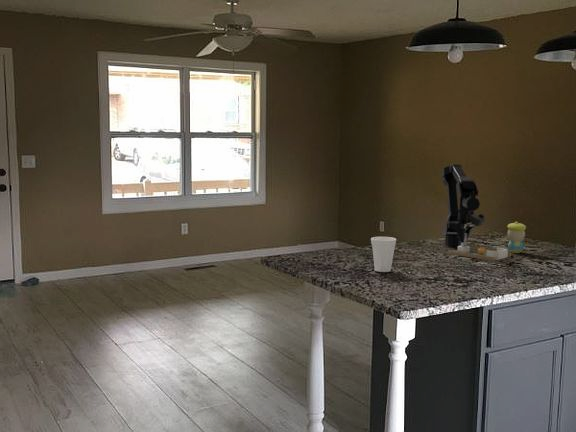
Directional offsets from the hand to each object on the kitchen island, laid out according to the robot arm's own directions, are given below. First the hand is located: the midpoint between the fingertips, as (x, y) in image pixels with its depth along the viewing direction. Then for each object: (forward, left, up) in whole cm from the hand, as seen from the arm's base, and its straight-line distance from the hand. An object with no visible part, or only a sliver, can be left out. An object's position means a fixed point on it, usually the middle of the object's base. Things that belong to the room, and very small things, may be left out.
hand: (463, 242), depth 284 cm
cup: (-3, -56, -6) cm, 56 cm away
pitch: (+8, 0, -6) cm, 10 cm away
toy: (+16, +18, -6) cm, 25 cm away
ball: (+9, 0, -3) cm, 9 cm away
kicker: (0, 0, -5) cm, 5 cm away
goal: (+16, 0, -5) cm, 17 cm away
